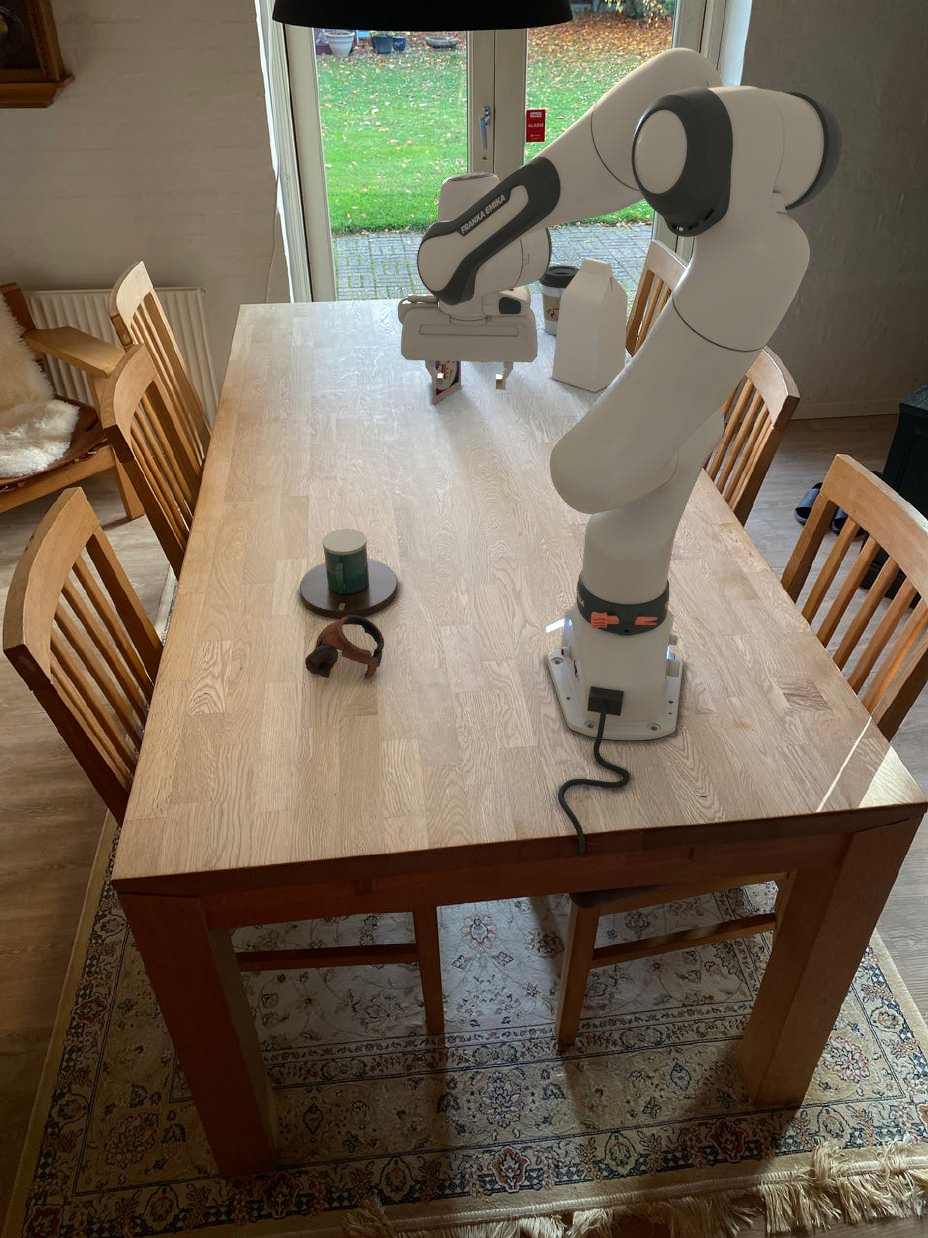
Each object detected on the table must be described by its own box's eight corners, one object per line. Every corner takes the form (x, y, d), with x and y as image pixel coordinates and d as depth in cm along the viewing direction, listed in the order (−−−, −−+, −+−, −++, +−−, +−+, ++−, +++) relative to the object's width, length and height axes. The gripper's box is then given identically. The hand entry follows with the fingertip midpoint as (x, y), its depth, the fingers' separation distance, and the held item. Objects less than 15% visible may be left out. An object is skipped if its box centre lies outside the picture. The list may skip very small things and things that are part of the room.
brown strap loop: (333, 639, 137) (358, 601, 132) (376, 684, 135) (403, 647, 130) (277, 665, 127) (302, 625, 122) (324, 715, 125) (351, 676, 121)
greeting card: (436, 404, 203) (435, 336, 194) (408, 397, 206) (405, 330, 197) (464, 386, 210) (463, 320, 202) (436, 380, 214) (435, 314, 205)
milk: (551, 378, 214) (558, 261, 199) (581, 364, 221) (590, 249, 206) (594, 391, 208) (604, 271, 192) (624, 376, 214) (635, 259, 199)
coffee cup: (533, 336, 236) (535, 275, 227) (540, 321, 245) (543, 262, 236) (578, 339, 234) (582, 278, 225) (583, 324, 243) (588, 265, 234)
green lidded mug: (319, 602, 141) (314, 559, 136) (331, 569, 148) (327, 527, 143) (363, 604, 140) (359, 561, 136) (373, 571, 147) (369, 529, 143)
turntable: (391, 621, 139) (390, 612, 139) (291, 617, 140) (290, 609, 139) (402, 565, 152) (402, 557, 151) (311, 563, 152) (310, 555, 151)
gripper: (394, 301, 131) (398, 394, 140) (540, 303, 130) (536, 397, 139) (399, 287, 137) (403, 377, 145) (539, 289, 135) (536, 380, 144)
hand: (469, 387), depth 142 cm, fingers open, 8 cm apart
